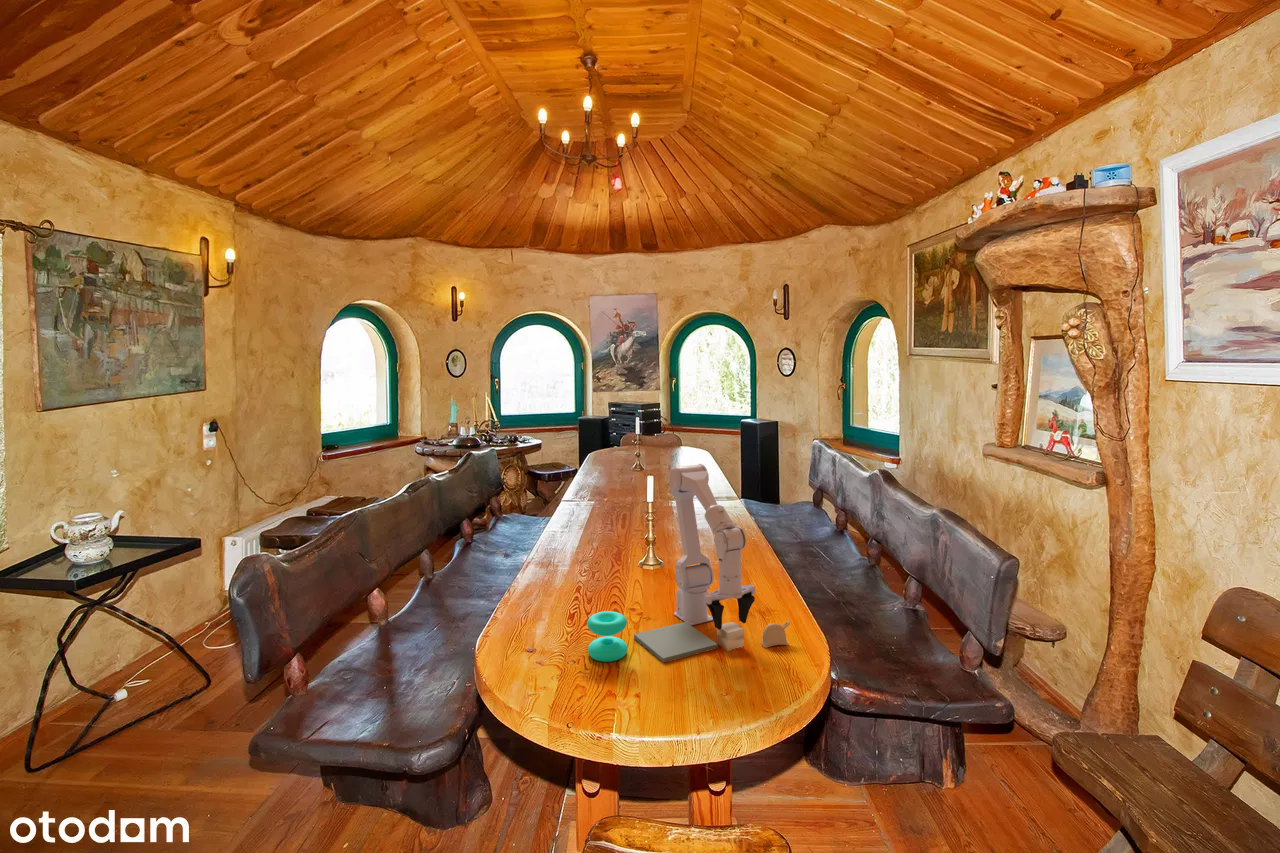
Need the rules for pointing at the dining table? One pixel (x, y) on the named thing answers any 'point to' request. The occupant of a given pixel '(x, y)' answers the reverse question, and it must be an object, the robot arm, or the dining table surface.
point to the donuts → (607, 636)
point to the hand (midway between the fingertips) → (730, 624)
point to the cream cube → (730, 636)
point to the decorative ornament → (774, 635)
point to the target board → (675, 641)
